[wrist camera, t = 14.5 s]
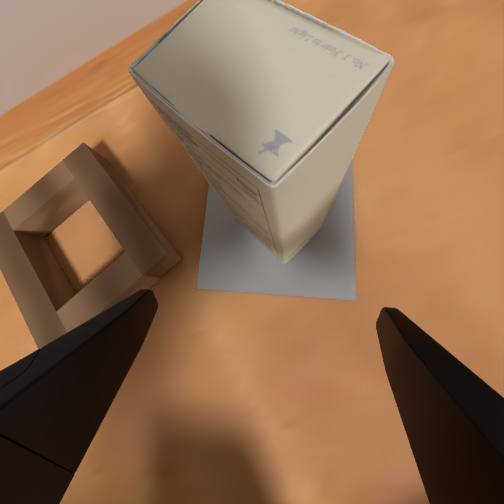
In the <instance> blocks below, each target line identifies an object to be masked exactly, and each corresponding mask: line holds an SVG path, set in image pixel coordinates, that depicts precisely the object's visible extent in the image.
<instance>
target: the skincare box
mask: <svg viewBox="0 0 504 504" xmlns="http://www.w3.org/2000/svg"><path fill="white" fill-rule="evenodd" d="M393 64H394V58H393V57H392V56H391V55H389V54H387V53H385V52H383V51H381V50H378V49H377V48H375V47H374V46H372V45H370V44H368V43H366V42H364V41H362V40H360V39H359V38H357V37H354V36H352V35H350V34H348V33H346V32H344V31H342V30H340V29H338V28H336V27H334V26H331V25H329V24H328V23H325V22H324V21H322V20H320V19H317V18H315V17H313V16H311V15H310V14H308V13H305V12H303V11H301V10H299V9H296V8H295V7H293V6H291V5H290V4H285V3H284V2H281V1H280V0H199V1H198V2H197V3H196V4H195V5H194V6H192V7H191V8H190V9H189V10H188V11H187V12H186V13H185V14H184V15H183V16H182V17H181V18H179V19H178V20H177V21H176V22H175V24H174V25H172V26H171V27H170V28H169V29H168V30H167V31H166V32H165V33H164V34H162V35H161V37H160V38H159V39H158V40H157V41H156V42H154V43H153V44H152V45H151V46H150V47H149V48H148V49H147V50H146V51H145V52H144V53H143V54H142V55H141V56H140V57H139V58H138V59H137V60H136V61H134V62H133V63H132V64H131V66H130V67H129V73H130V74H131V76H132V77H133V79H134V80H135V82H136V83H137V84H138V86H139V87H140V88H141V90H142V91H143V93H144V94H145V96H146V97H147V98H148V100H149V101H150V102H151V104H152V105H153V107H154V108H155V109H156V111H157V112H158V113H159V115H160V116H161V117H162V119H163V120H164V122H165V123H166V124H167V126H168V127H169V129H170V130H171V131H172V133H173V134H174V136H175V137H176V138H177V140H178V141H179V142H180V144H181V145H182V147H183V148H184V149H185V151H186V152H187V154H188V155H189V156H190V158H191V159H192V160H193V162H194V163H195V165H196V166H197V167H198V169H199V170H200V171H201V173H202V174H203V176H204V177H205V178H206V180H207V181H208V183H209V184H210V185H211V187H212V188H213V190H214V191H215V192H216V194H217V195H218V197H219V198H220V199H221V201H222V202H223V203H224V205H225V206H226V208H227V209H228V210H229V212H230V213H231V215H232V216H233V217H234V218H235V219H236V220H237V221H238V222H239V223H240V224H241V225H242V226H243V227H244V228H245V229H246V230H247V231H248V232H249V233H250V234H251V235H252V236H253V237H254V238H255V239H256V240H257V241H258V242H259V243H260V244H261V245H263V246H264V247H265V248H266V249H267V250H268V251H269V252H270V253H271V254H272V255H273V256H275V257H276V258H277V259H278V260H279V261H280V262H281V263H282V264H286V263H287V262H289V261H290V260H291V259H292V258H293V257H294V256H295V255H296V254H297V253H298V252H299V251H300V250H301V249H302V248H303V247H304V245H306V244H307V242H308V241H309V240H310V239H311V238H312V237H313V236H314V235H315V234H316V233H317V232H318V231H319V229H320V228H321V227H322V225H323V222H324V220H325V218H326V216H327V214H328V211H329V209H330V207H331V205H332V203H333V201H334V199H335V196H336V194H337V192H338V190H339V187H340V185H341V183H342V181H343V179H344V176H345V174H346V172H347V170H348V167H349V165H350V163H351V160H352V158H353V156H354V154H355V152H356V149H357V147H358V145H359V143H360V140H361V138H362V136H363V134H364V131H365V129H366V127H367V125H368V122H369V120H370V118H371V115H372V113H373V111H374V108H375V106H376V104H377V102H378V99H379V97H380V95H381V92H382V90H383V88H384V86H385V83H386V81H387V79H388V76H389V74H390V72H391V70H392V67H393Z"/></svg>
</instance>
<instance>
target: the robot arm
mask: <svg viewBox="0 0 504 504" xmlns="http://www.w3.org/2000/svg"><path fill="white" fill-rule="evenodd" d="M157 308H158V303H157V300H156V298H155V295H154V293H153V291H152V290H149V289H141V290H139V291H138V292H136V293H134V294H132V295H131V296H129V297H127V298H126V299H124V300H122V301H120V302H119V303H117V304H115V305H114V306H112V307H110V308H108V309H107V310H105V311H103V312H102V313H100V314H98V315H96V316H95V317H93V318H91V319H90V320H88V321H86V322H84V323H83V324H81V325H79V326H78V327H76V328H74V329H72V330H71V331H69V332H67V333H66V334H64V335H62V336H60V337H59V338H57V339H55V340H54V341H52V342H50V343H48V344H47V345H45V346H43V347H42V348H41V349H38V350H36V351H35V352H33V353H31V354H30V355H28V356H26V357H24V358H23V359H21V360H19V361H17V362H16V363H14V364H12V365H10V366H8V367H7V368H5V369H3V370H1V371H0V504H59V503H60V501H61V500H62V498H63V496H64V494H65V492H66V490H67V488H68V486H69V484H70V482H71V480H72V479H73V477H74V473H75V472H76V471H77V469H78V467H79V465H80V463H81V461H82V459H83V457H84V455H85V453H86V452H87V450H88V448H89V446H90V444H91V442H92V440H93V438H94V436H95V434H96V432H97V431H98V429H99V427H100V425H101V423H102V421H103V419H104V417H105V415H106V413H107V411H108V410H109V408H110V406H111V404H112V402H113V400H114V398H115V396H116V394H117V392H118V390H119V389H120V387H121V385H122V383H123V381H124V379H125V377H126V375H127V373H128V371H129V369H130V368H131V366H132V364H133V362H134V360H135V358H136V356H137V354H138V352H139V350H140V348H141V346H142V344H143V342H144V340H145V338H146V336H147V333H148V331H149V328H150V326H151V323H152V321H153V318H154V316H155V313H156V311H157ZM376 329H377V334H378V338H379V343H380V348H381V352H382V357H383V362H384V366H385V370H386V373H387V377H388V380H389V383H390V386H391V389H392V392H393V395H394V398H395V401H396V404H397V407H398V410H399V413H400V416H401V419H402V422H403V425H404V428H405V431H406V434H407V437H408V440H409V443H410V446H411V449H412V452H413V455H414V458H415V461H416V464H417V467H418V470H419V473H420V476H421V479H422V482H423V485H424V488H425V491H426V494H427V497H428V500H429V503H430V504H504V398H503V397H502V396H501V395H500V394H498V393H497V392H496V391H495V390H494V389H492V388H491V387H490V386H489V385H488V384H487V383H485V382H484V381H483V380H482V379H481V378H479V377H478V376H477V375H476V374H475V373H473V372H472V371H471V370H470V369H469V368H467V367H466V366H465V365H464V364H463V363H461V362H460V361H459V360H458V359H457V358H455V357H454V356H453V355H452V354H451V353H450V352H448V351H447V350H446V349H445V348H444V347H442V346H441V345H440V344H439V343H438V342H436V341H435V340H434V339H433V338H432V337H430V336H429V335H428V334H427V333H426V332H424V331H423V330H422V329H421V328H420V327H419V326H417V325H416V324H415V323H414V322H413V321H411V320H410V319H409V318H408V317H407V316H405V315H404V314H403V313H402V312H401V311H399V310H398V309H396V308H391V307H384V308H382V310H381V312H380V314H379V317H378V319H377V322H376Z"/></svg>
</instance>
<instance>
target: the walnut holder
mask: <svg viewBox="0 0 504 504" xmlns="http://www.w3.org/2000/svg"><path fill="white" fill-rule="evenodd" d="M89 199H90V201H91V202H92V204H93V205H94V207H95V208H96V209H97V211H98V212H99V214H100V215H101V217H102V218H103V220H104V221H105V222H106V224H107V225H108V227H109V228H110V230H111V231H112V233H113V234H114V235H115V237H116V238H117V240H118V241H119V243H120V244H121V245H122V247H123V248H124V250H125V252H124V253H123V254H122V255H121V256H120V257H119V258H117V259H116V260H115V261H114V262H113V263H112V264H111V265H109V266H108V267H107V268H106V269H105V270H104V271H102V272H101V273H100V274H99V275H98V276H97V277H96V278H94V279H93V280H92V281H91V282H90V283H89V284H88V285H86V286H85V287H84V288H83V289H82V290H81V291H80V292H78V293H77V294H76V292H75V290H74V289H73V287H72V285H71V283H70V282H69V280H68V278H67V276H66V275H65V273H64V271H63V269H62V268H61V266H60V264H59V262H58V261H57V259H56V257H55V255H54V254H53V252H52V250H51V249H50V247H49V245H48V243H47V242H46V240H45V237H46V236H47V235H48V234H49V233H51V232H52V231H53V230H54V229H55V228H56V227H58V226H59V225H60V224H61V223H62V222H63V221H65V220H66V219H67V218H68V217H69V216H70V215H72V214H73V213H74V212H75V211H76V210H77V209H79V208H80V207H81V206H82V205H83V204H84V203H86V202H87V201H88V200H89ZM182 259H183V258H182V257H181V256H180V254H179V253H178V252H177V250H176V249H175V248H174V247H173V245H172V244H171V243H170V241H169V240H168V239H167V238H166V236H165V235H164V234H163V232H162V231H161V230H160V229H159V227H158V226H157V225H156V223H155V222H154V221H153V220H152V218H151V217H150V216H149V214H148V213H147V212H146V211H145V209H144V208H143V207H142V205H141V204H140V203H139V202H138V200H137V199H136V198H135V196H134V195H133V194H132V193H131V191H130V190H129V189H128V187H127V186H126V185H125V184H124V182H123V181H122V180H121V178H120V177H119V176H118V175H117V173H116V172H115V171H114V169H113V168H112V167H111V166H110V164H109V163H108V162H107V160H106V159H104V158H103V157H102V156H101V155H99V154H98V153H97V152H95V151H94V150H93V149H91V148H90V147H89V146H87V145H86V144H85V143H82V144H81V145H80V146H79V147H78V148H76V149H75V150H74V151H73V152H72V153H71V154H69V155H68V156H67V157H66V158H65V159H63V160H62V161H61V162H60V163H59V164H58V165H56V166H55V167H54V168H53V169H52V170H51V171H49V172H48V173H47V174H46V175H45V176H44V177H42V178H41V179H40V180H39V181H38V182H36V183H35V184H34V185H33V186H32V187H31V188H29V189H28V190H27V191H26V192H25V193H24V194H22V195H21V196H20V197H19V198H18V199H17V200H15V201H14V202H13V203H12V204H11V205H9V206H8V207H7V208H6V209H5V210H4V211H2V212H1V213H0V269H1V271H2V273H3V276H4V278H5V280H6V282H7V284H8V286H9V288H10V290H11V292H12V294H13V296H14V299H15V301H16V303H17V305H18V307H19V309H20V311H21V313H22V315H23V317H24V319H25V322H26V324H27V326H28V328H29V330H30V332H31V334H32V336H33V338H34V340H35V342H36V345H37V347H38V349H41V348H42V347H43V346H45V345H47V344H48V343H50V342H52V341H54V340H55V339H57V338H59V337H60V336H62V335H64V334H66V333H67V332H69V331H71V330H72V329H74V328H76V327H78V326H79V325H81V324H83V323H84V322H86V321H88V320H90V319H91V318H93V317H95V316H96V315H98V314H100V313H102V312H103V311H105V310H107V309H108V308H110V307H112V306H114V305H115V304H117V303H119V302H120V301H122V300H124V299H126V298H127V297H129V296H131V295H132V294H134V293H136V292H138V291H139V290H141V289H149V288H150V287H152V286H153V285H154V284H155V283H156V282H157V281H158V280H160V279H161V278H162V277H163V276H164V275H165V274H166V273H168V272H169V271H170V270H171V269H172V268H173V267H174V266H175V265H177V264H178V263H179V262H180V261H181V260H182Z"/></svg>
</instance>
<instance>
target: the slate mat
mask: <svg viewBox="0 0 504 504" xmlns="http://www.w3.org/2000/svg"><path fill="white" fill-rule="evenodd" d="M196 289H204V290H218V291H232V292H246V293H259V294H273V295H287V296H301V297H315V298H329V299H343V300H356V292H355V245H354V199H353V158H352V160H351V163H350V165H349V167H348V170H347V172H346V174H345V176H344V179H343V181H342V183H341V185H340V187H339V190H338V192H337V194H336V196H335V199H334V201H333V203H332V205H331V207H330V209H329V211H328V214H327V216H326V218H325V220H324V222H323V225H322V227H321V228H320V229H319V231H318V232H317V233H316V234H315V235H314V236H313V237H312V238H311V239H310V240H309V241H308V242H307V244H306V245H304V247H303V248H302V249H301V250H300V251H299V252H298V253H297V254H296V255H295V256H294V257H293V258H292V259H291V260H290V261H289V262H287V263H286V264H282V263H281V262H280V261H279V260H278V259H277V258H276V257H275V256H273V255H272V254H271V253H270V252H269V251H268V250H267V249H266V248H265V247H264V246H263V245H261V244H260V243H259V242H258V241H257V240H256V239H255V238H254V237H253V236H252V235H251V234H250V233H249V232H248V231H247V230H246V229H245V228H244V227H243V226H242V225H241V224H240V223H239V222H238V221H237V220H236V219H235V218H234V217H233V216H232V215H231V213H230V212H229V210H228V209H227V208H226V206H225V205H224V203H223V202H222V201H221V199H220V198H219V197H218V195H217V194H216V192H215V191H214V190H213V188H212V187H211V185H210V184H209V186H208V195H207V203H206V211H205V220H204V228H203V236H202V245H201V253H200V262H199V270H198V278H197V287H196Z"/></svg>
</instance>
